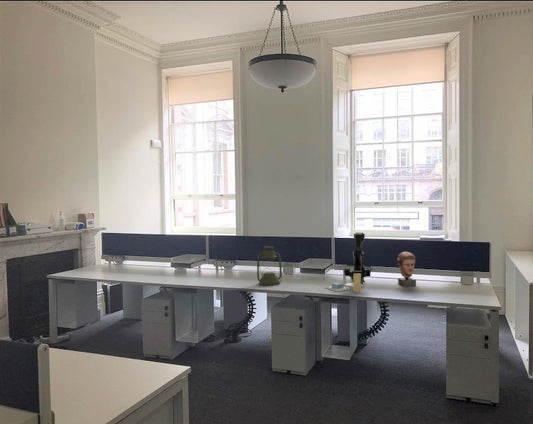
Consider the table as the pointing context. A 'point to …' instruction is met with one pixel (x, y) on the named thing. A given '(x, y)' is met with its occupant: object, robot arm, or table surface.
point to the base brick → (337, 285)
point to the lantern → (269, 277)
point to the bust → (406, 268)
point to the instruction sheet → (351, 284)
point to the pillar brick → (357, 282)
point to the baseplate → (337, 289)
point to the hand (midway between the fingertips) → (357, 282)
